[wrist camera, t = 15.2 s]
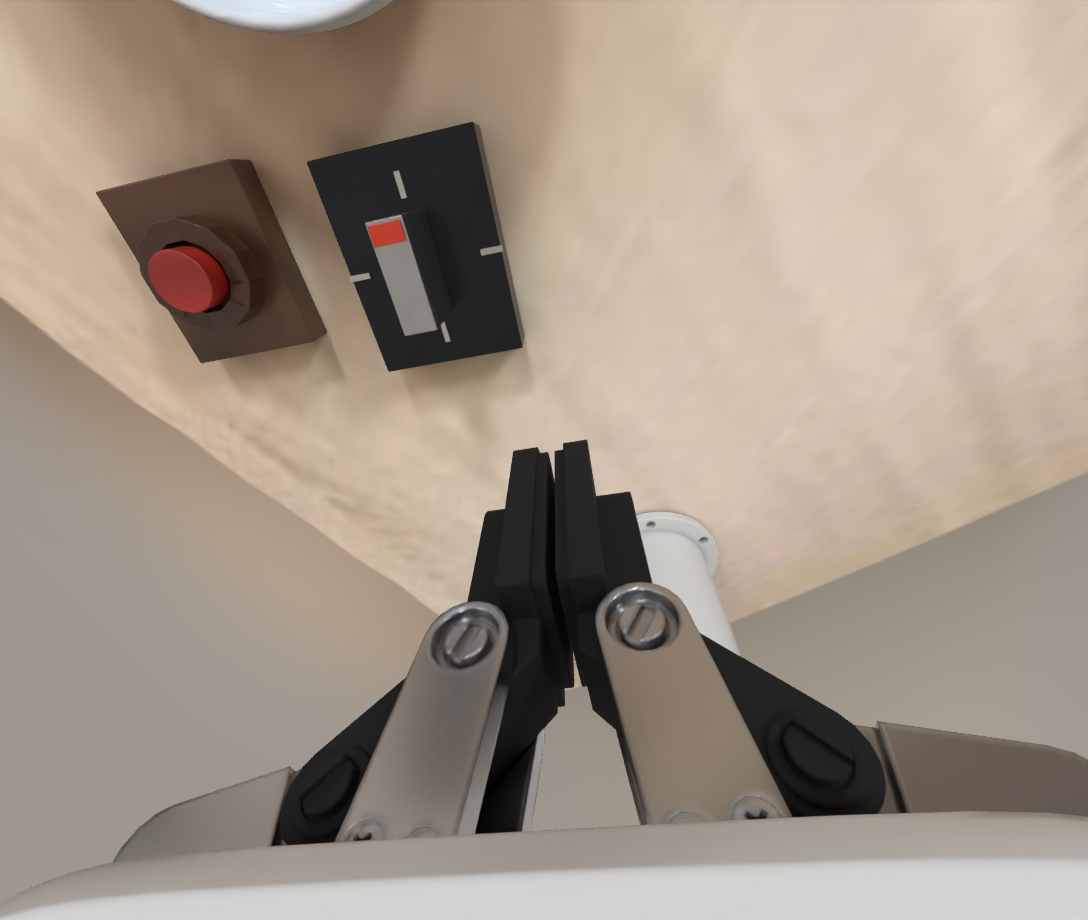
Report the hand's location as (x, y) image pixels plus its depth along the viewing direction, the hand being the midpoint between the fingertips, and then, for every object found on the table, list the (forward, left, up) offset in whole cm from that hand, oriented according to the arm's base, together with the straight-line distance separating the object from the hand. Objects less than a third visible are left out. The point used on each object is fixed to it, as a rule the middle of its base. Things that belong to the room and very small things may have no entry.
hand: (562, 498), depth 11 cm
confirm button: (+5, +22, -22) cm, 31 cm away
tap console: (+3, +8, -25) cm, 27 cm away
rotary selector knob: (+3, +8, -23) cm, 24 cm away
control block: (+5, +22, -25) cm, 34 cm away
